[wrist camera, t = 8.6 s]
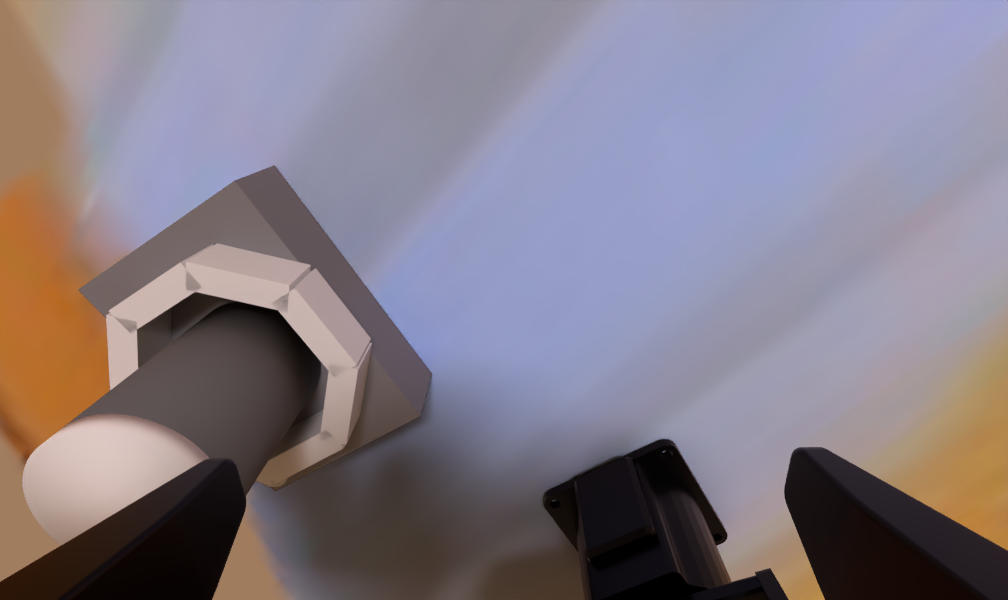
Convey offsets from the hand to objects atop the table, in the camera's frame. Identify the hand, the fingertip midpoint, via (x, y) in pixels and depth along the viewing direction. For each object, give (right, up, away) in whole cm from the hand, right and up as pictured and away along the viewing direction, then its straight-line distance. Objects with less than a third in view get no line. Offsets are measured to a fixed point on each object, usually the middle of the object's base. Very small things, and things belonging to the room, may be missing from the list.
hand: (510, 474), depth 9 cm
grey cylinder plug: (-9, +1, +10) cm, 13 cm away
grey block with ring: (-9, +2, +13) cm, 16 cm away
